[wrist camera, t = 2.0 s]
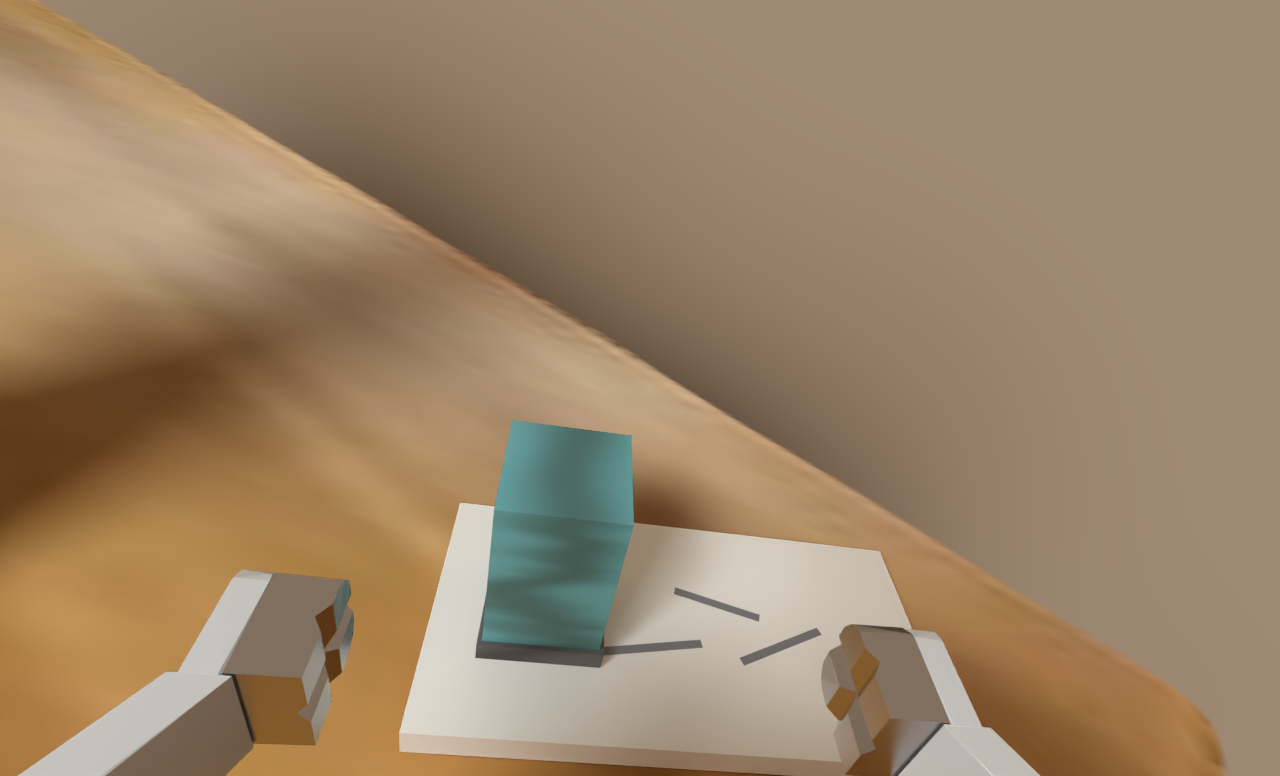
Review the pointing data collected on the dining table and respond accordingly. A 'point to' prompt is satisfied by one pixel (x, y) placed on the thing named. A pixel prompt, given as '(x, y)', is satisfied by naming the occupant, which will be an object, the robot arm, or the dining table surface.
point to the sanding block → (556, 545)
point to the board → (658, 658)
